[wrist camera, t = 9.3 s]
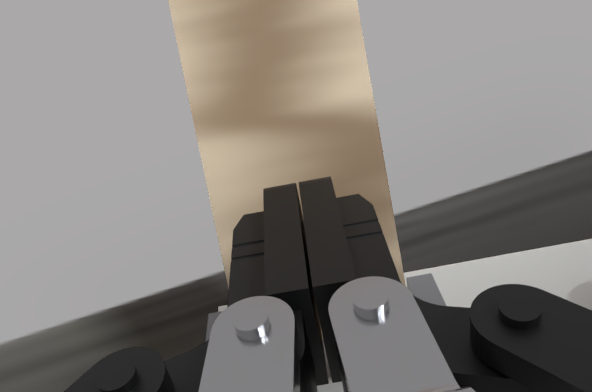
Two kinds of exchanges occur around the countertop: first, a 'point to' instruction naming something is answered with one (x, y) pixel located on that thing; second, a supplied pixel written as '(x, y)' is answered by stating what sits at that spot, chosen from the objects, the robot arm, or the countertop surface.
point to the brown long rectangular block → (281, 105)
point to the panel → (496, 280)
